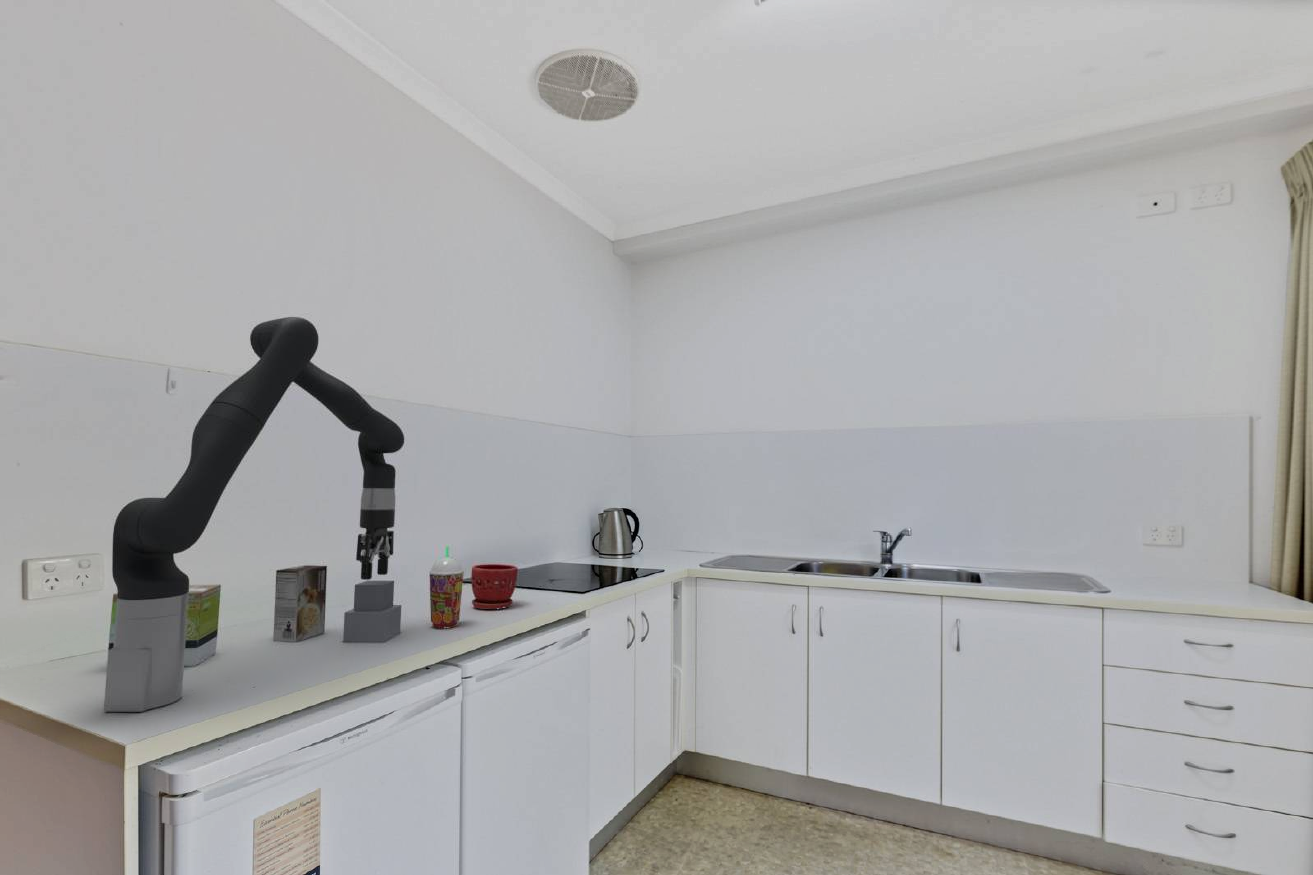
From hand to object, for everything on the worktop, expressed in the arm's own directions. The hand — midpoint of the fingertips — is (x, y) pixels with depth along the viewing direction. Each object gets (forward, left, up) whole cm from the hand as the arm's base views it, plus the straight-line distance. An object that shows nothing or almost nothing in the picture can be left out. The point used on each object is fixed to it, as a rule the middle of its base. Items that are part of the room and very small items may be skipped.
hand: (374, 576), depth 146 cm
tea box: (-21, +32, -14) cm, 41 cm away
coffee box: (0, +17, -14) cm, 22 cm away
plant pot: (+37, -19, -14) cm, 44 cm away
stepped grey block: (0, 0, -14) cm, 14 cm away
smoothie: (+12, -13, -14) cm, 23 cm away
